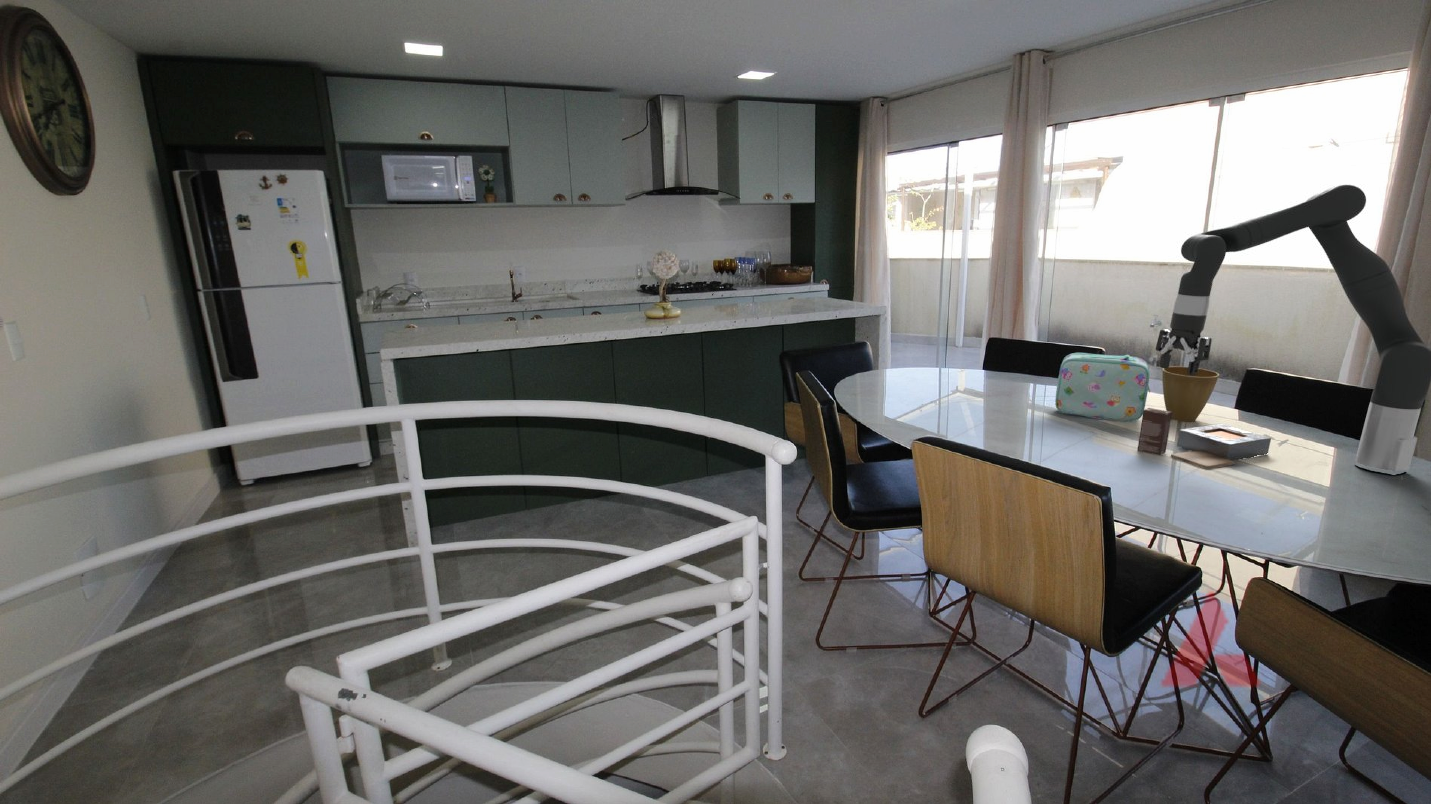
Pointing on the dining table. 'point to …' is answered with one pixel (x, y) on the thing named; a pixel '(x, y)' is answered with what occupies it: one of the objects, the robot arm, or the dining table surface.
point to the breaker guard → (1223, 442)
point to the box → (1154, 431)
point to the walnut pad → (1202, 459)
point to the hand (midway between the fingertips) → (1177, 371)
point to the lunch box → (1103, 386)
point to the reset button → (1224, 435)
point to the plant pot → (1187, 391)
